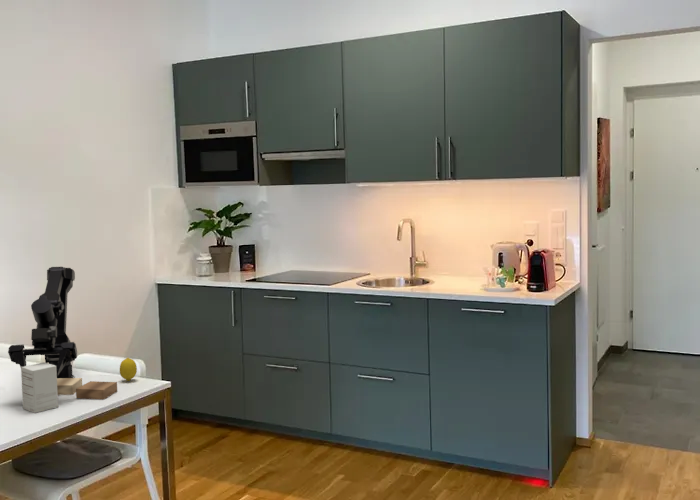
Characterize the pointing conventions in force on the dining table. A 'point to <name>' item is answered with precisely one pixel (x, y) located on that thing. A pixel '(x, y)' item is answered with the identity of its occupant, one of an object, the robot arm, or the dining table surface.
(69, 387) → the pale oak block
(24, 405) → the supplement box
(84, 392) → the walnut block
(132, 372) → the lemon
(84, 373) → the dining table surface
